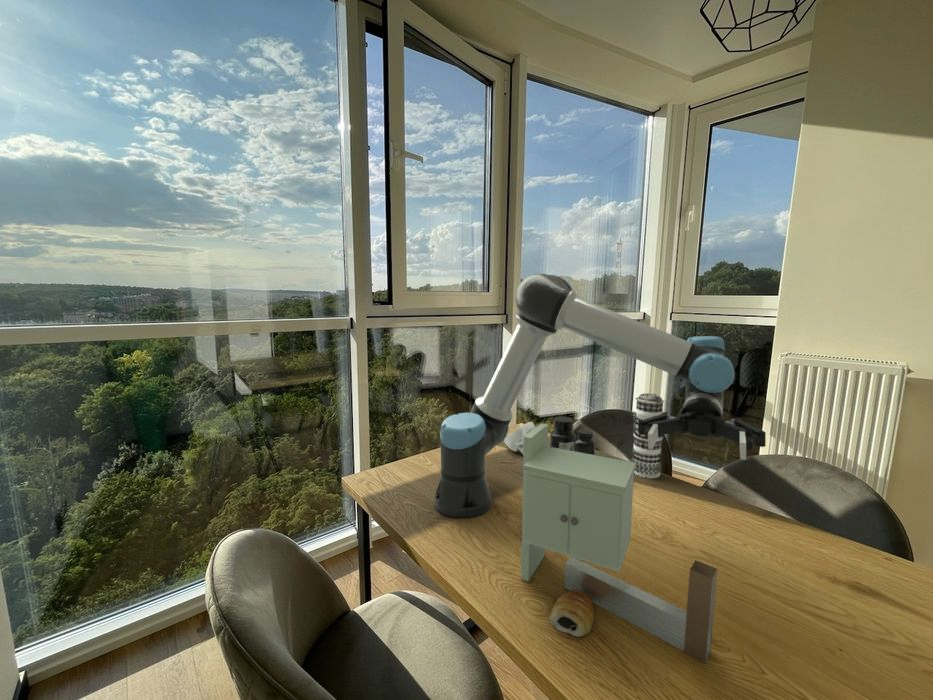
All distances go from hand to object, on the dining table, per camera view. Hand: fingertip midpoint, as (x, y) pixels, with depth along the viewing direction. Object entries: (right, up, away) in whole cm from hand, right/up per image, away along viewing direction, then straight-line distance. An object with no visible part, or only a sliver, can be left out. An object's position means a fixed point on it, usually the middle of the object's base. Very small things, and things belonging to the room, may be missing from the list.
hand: (694, 446), depth 69 cm
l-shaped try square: (-10, -30, +3) cm, 32 cm away
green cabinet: (-17, -29, +9) cm, 35 cm away
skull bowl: (-17, -21, +79) cm, 83 cm away
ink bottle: (-4, -21, +79) cm, 81 cm away
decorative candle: (+19, -23, +61) cm, 68 cm away
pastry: (-20, -31, +2) cm, 37 cm away
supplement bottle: (0, -22, +65) cm, 69 cm away
